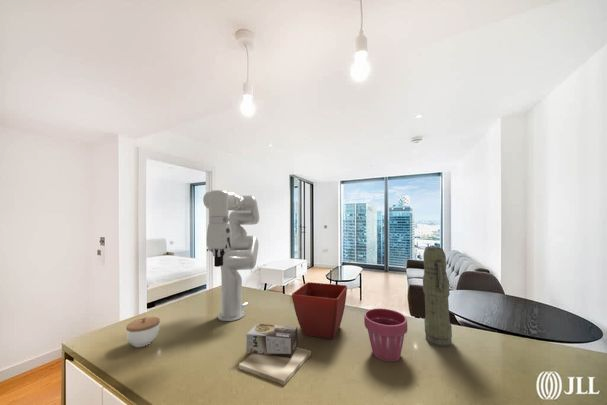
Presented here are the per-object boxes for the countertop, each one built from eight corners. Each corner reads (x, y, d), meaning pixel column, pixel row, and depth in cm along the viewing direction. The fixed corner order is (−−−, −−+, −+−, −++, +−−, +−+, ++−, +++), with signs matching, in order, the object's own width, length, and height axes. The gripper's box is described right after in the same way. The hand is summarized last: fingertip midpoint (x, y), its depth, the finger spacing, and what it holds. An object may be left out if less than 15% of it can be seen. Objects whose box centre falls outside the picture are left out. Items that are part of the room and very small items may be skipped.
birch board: (270, 343, 90) (270, 339, 90) (310, 354, 82) (310, 350, 82) (238, 368, 75) (238, 364, 75) (284, 385, 67) (284, 380, 67)
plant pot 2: (410, 370, 73) (408, 327, 74) (363, 361, 78) (362, 321, 79) (407, 347, 86) (405, 310, 87) (367, 340, 91) (366, 306, 92)
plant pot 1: (291, 337, 95) (290, 293, 96) (308, 318, 112) (307, 281, 114) (338, 346, 88) (337, 299, 89) (348, 324, 105) (347, 285, 106)
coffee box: (245, 353, 81) (291, 359, 78) (246, 333, 82) (291, 338, 78) (257, 340, 90) (298, 345, 86) (257, 322, 91) (298, 326, 87)
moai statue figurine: (442, 333, 96) (437, 245, 98) (459, 349, 84) (454, 249, 87) (419, 333, 96) (415, 245, 99) (434, 349, 85) (429, 249, 87)
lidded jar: (165, 338, 95) (166, 314, 95) (139, 353, 85) (140, 325, 85) (146, 334, 98) (146, 311, 99) (118, 348, 88) (119, 321, 89)
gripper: (239, 220, 98) (239, 265, 97) (212, 220, 104) (212, 262, 103) (226, 221, 91) (226, 269, 90) (198, 220, 97) (198, 266, 97)
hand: (218, 265), depth 97 cm, fingers closed
